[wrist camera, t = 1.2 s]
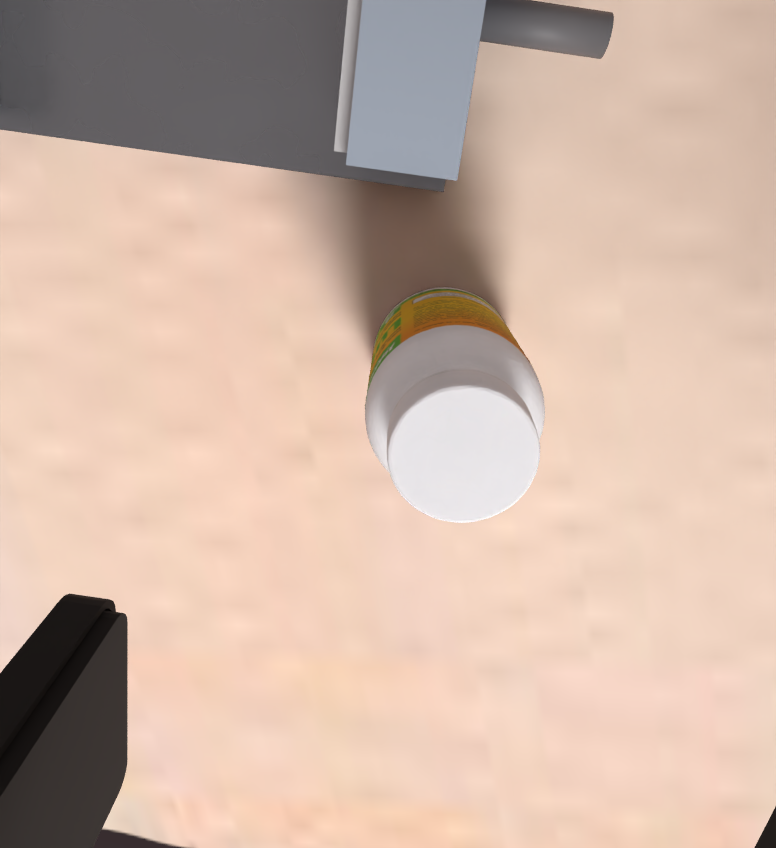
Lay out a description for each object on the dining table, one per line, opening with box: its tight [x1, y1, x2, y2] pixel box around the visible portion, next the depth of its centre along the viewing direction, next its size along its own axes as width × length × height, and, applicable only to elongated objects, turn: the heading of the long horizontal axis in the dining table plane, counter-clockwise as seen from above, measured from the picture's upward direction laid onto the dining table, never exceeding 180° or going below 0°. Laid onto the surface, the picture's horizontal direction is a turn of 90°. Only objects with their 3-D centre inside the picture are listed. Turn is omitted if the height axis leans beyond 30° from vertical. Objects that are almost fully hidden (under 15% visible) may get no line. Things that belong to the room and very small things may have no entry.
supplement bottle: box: [365, 287, 545, 522], centre depth 22 cm, size 5×5×10 cm
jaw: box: [334, 0, 614, 181], centre depth 18 cm, size 7×9×4 cm
